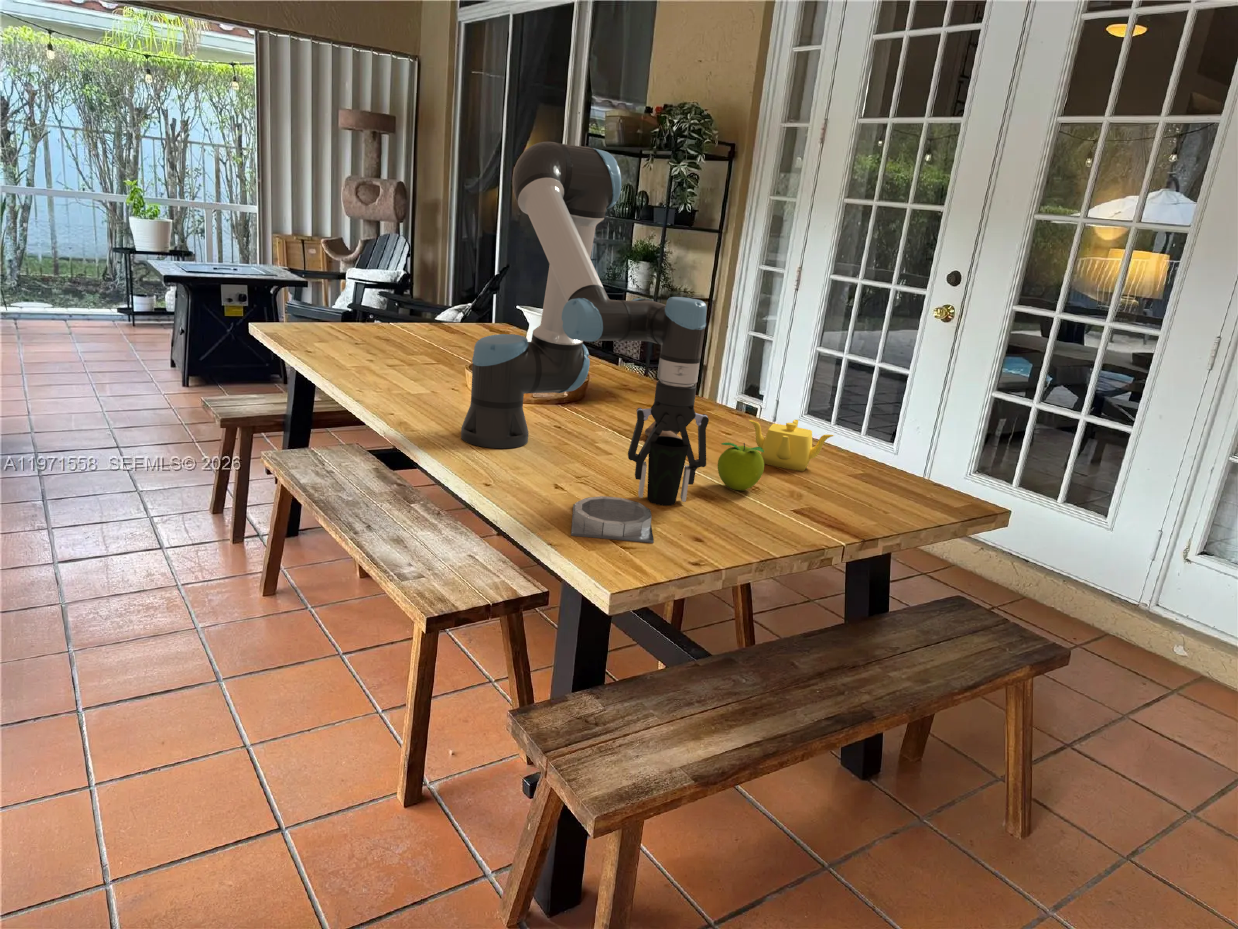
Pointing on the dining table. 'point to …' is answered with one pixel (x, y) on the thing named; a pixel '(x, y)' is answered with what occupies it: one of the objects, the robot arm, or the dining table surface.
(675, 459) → the cup
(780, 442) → the teapot
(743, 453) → the fruit
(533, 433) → the dining table surface
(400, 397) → the dining table surface
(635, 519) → the duct collar
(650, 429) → the pipe
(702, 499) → the dining table surface
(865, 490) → the dining table surface
